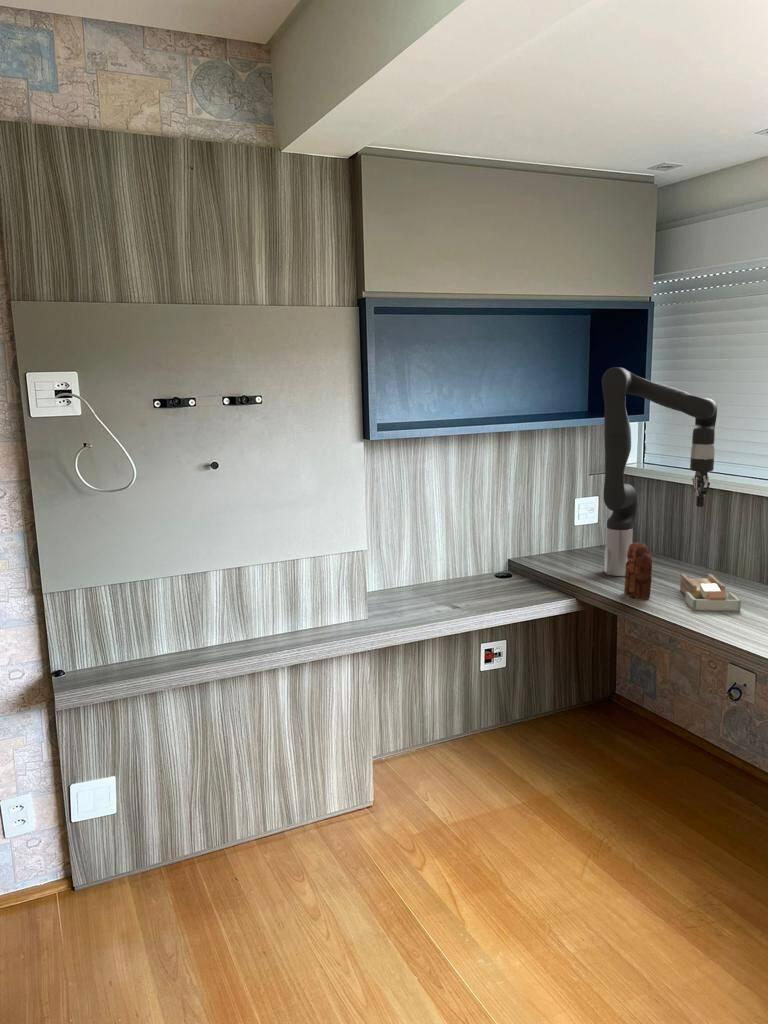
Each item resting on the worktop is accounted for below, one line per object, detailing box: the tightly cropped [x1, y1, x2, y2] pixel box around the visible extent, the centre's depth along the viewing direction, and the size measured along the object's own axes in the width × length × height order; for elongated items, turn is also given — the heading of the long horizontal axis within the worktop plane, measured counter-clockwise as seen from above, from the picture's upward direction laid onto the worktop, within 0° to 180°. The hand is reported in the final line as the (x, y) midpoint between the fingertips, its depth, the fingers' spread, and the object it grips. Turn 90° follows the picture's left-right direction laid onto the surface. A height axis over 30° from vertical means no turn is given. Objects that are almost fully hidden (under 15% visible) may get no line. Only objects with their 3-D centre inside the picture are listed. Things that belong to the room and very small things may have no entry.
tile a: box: [700, 583, 721, 598], centre depth 245 cm, size 5×5×2 cm
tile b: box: [705, 590, 727, 600], centre depth 241 cm, size 5×5×2 cm
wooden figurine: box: [623, 541, 653, 601], centre depth 256 cm, size 12×6×18 cm, turn 14°
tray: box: [685, 592, 742, 612], centre depth 243 cm, size 14×9×4 cm, turn 83°
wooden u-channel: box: [679, 573, 726, 599], centre depth 255 cm, size 10×15×6 cm, turn 173°
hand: (699, 506), depth 268 cm, fingers closed
